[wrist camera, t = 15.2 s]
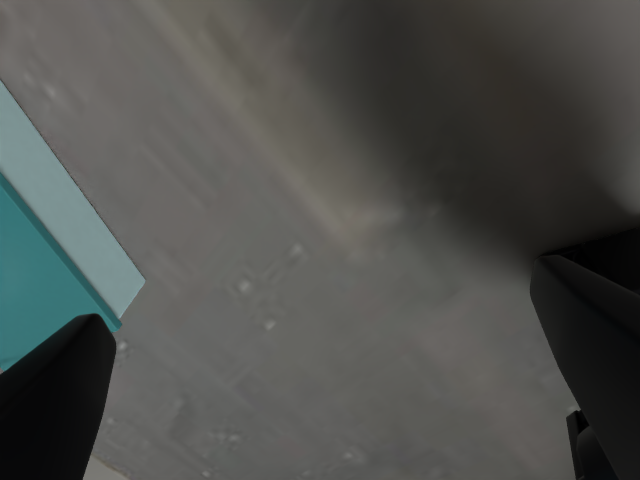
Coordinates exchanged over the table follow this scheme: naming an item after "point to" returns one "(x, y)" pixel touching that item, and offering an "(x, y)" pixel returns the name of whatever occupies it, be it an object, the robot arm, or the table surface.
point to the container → (50, 245)
